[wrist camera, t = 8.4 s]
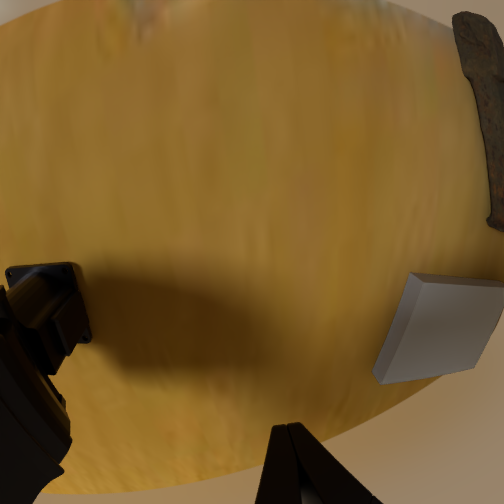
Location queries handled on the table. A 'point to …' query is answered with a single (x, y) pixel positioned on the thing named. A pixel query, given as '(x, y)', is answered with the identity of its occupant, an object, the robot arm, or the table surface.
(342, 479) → the robot arm
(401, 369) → the tile
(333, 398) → the table surface
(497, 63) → the dark brown rough rod
